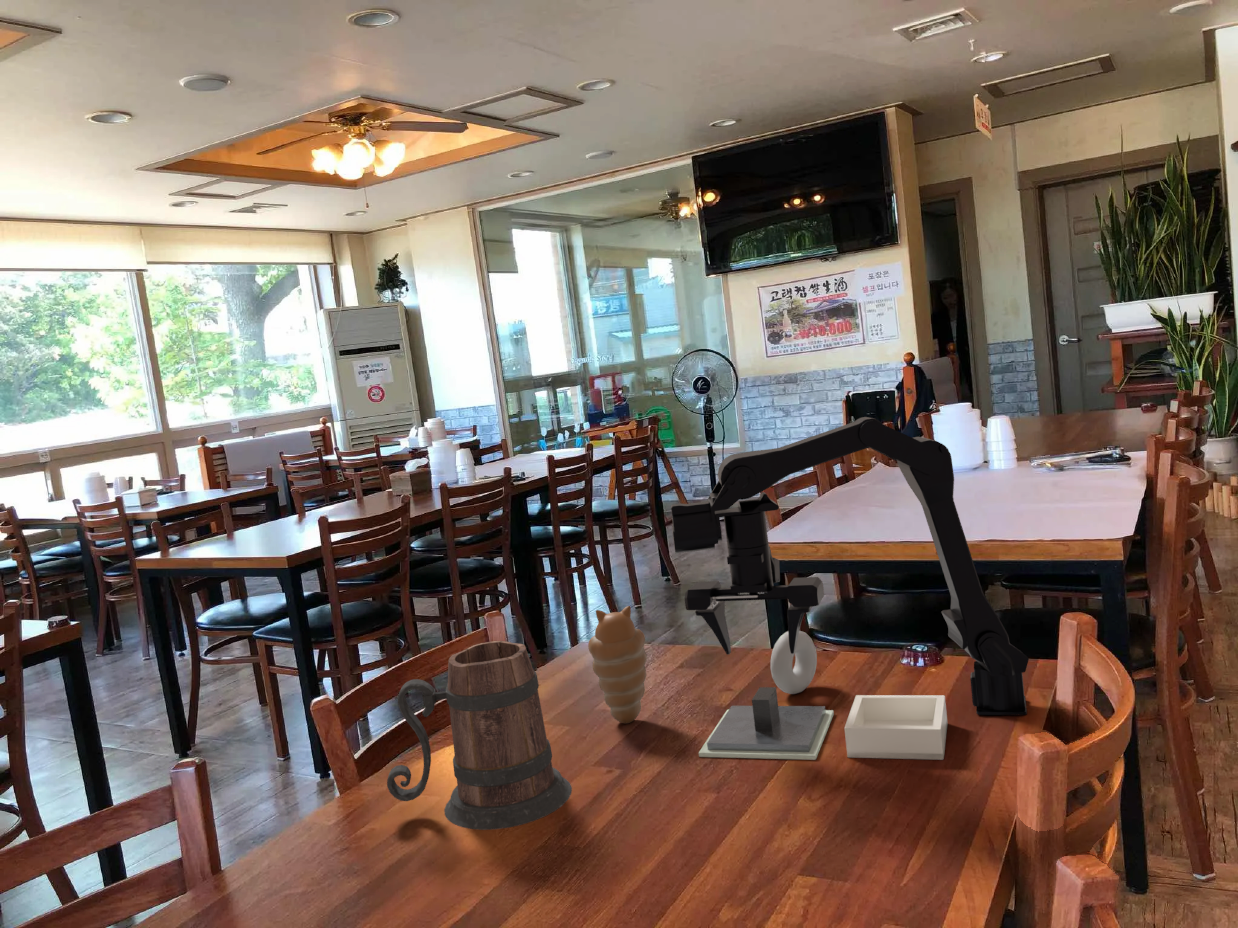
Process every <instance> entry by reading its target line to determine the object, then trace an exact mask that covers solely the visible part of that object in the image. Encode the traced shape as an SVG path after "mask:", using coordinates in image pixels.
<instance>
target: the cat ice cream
mask: <svg viewBox="0 0 1238 928" xmlns="http://www.w3.org/2000/svg"><path fill="white" fill-rule="evenodd" d="M631 609H632V607H631V605H627V606H625V607H624V608H623V609H622V610H621V611H620V612H619V611H614V612H609V613H607V612H605V611H602V610H599V609H596V610H595V615H596V618H597V621H598V622H597V626H596V628H595V631H594V632H595V633H594V636H592V637H591V638H590V639H589V641H588V646H587V647H588V651H589V653H590V655H591V657H592V658H593V662H592V671H593V673H594V674H595V675H596V677H598V687H599V688H600V690H601V691H602V692H603V697H604V698H603V699H604V702H605V704H606V705H607V706H608V707H609V708H610V714H611V716H612V718H613V719H614V720H616V721H617V722H619V723H621V724H629V723H633V722H634V721H635V720H636V719H637V718H638V716H639V715H640V712H641V711H642V710H641V709H642V704H641V700H642V699H643V697H644V695H645V691H646V688H645V682H646V677H647V668H646V662H647V657H648V656H647V652H646V649H645V644H646V636H645V633H644V632H643V631H642V630H641V629H639V628H636V627H635V624H634V622H633V620H632V618H631V614H632V612H631V611H632V610H631Z"/></svg>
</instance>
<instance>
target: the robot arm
mask: <svg viewBox="0 0 1238 928" xmlns="http://www.w3.org/2000/svg"><path fill="white" fill-rule="evenodd" d="M865 449H872V450H873V451H876V452H878V453H880V454H881V455H883V456H885V457H888V458H889V459H891V460H894V461H896V462H897V466H898V468H899V470H900V472H901V473H902V475H903V477H904V479H905V481H906V483H907V484H908V486H909V488H910V489H911V492H913V493H914V496H915V497H916V498H917V500H918V501H919V503H920V505H921V507H922V511H923V513H924V517H925V519H926V522H927V525H928V529H929V532H930V536H931V538H932V540H933V541H932V542H933V544H934V547H935V551H936V555H937V557H938V561H939V563H940V567H941V569H942V573H943V575H944V579H945V582H946V584H947V585H946V586H947V588H948V591H949V594H950V609H943V610H942V611H941V612H940V613H941V614H942V616H943V619H944V620H945V622H946V625H947V628H948V631H947V632H948V633H947V635H948V637H949V638H950V639H951V641H953V642H954V643H956V644H957V645H958V646H959V647H960V648H961V649H962V650H964V651H965V652H966V653H967V654H968V655H969V656H970V658H971V659H973V660H975V661H973V671H972V672H970V679H969V680H970V689H971V690H970V691H971V701H972V706H974V707H976V708H975V709H976V714H977V716H978V715H981V716H1026V715H1027V713H1028V712H1027V698H1026V696H1025V688H1024V677H1023V673H1025V672H1026V671H1027V667H1028V664H1029V657H1028V655H1026V654H1024V652H1022V651H1021V650H1020V649H1018V648H1017V647H1015V646H1014V645H1013V644H1011V643H1010V637H1009V634H1008V632H1007V630H1006V629H1005V626H1004V624H1003V623H1002V621H1001V619H1000V617H999V616H998V614H997V612H996V610H995V609H994V608H993V606H992V605H991V603H990V602H989V600H988V599H987V597H986V596H985V593H984V591H983V588H982V585H981V582H980V578H979V576H978V574H977V569H976V567H975V563H974V560H973V558H972V553H971V550H970V548H969V545H968V541H967V538H966V536H965V532H964V529H963V525H962V523H961V520H960V517H959V513H958V510H957V507H956V506H957V505H956V504H955V501H954V499H955V498H954V491H955V489H954V488H955V486H954V485H955V474H954V467H953V461H952V460H953V458H952V455H951V453H950V450H949V448H948V447H947V446H946V445H945V444H943V443H942V442H940V441H937V440H934V439H930V438H927V437H921V436H915V437H911V436H910V435H907V434H905V433H902V432H901V431H899V430H897V429H894V428H892V427H889V426H888V425H886V424H883V423H882V421H880V420H878V419H876V418H873V417H867V416H864V417H863V416H862V417H859V418H857V419H856V420H854V421H853V422H850V423H847V424H845V425H844V424H843V425H841V426H838V427H835V428H833V429H830V430H827V431H823V432H821V433H818V434H815V435H812V436H810V437H806V438H803V439H800V440H798V441H795V442H791V443H788V444H786V445H783V446H781V447H777V448H769V449H758V450H751V451H750V450H749V451H745V452H739V453H733V454H731V455H728V456H727V457H725V458H724V459H723V460H721V463H720V464H719V467H718V469H717V477H718V478H717V479H718V481H717V483H716V484H715V486H714V488H713V490H712V491H711V492H710V493H709V496H708V498H707V501H702V502H701V501H700V502H694V503H673V504H671V505H670V509H671V519H672V525H671V533H672V539H673V547H674V553H675V554H685V553H690V552H698V551H699V552H701V551H707V550H715V549H716V545H719V542H722V541H723V537H722V536H723V535H722V534H723V533H722V525H721V518H723V521H724V529H725V530H724V531H725V537H726V547H727V557H726V562H727V565H729V572H730V579H731V585H730V587H722V585H721V582H720V581H719V580H714V581H712V580H711V581H696V582H695V583H694V584H692V585H691V587H690V588H688V589H687V590H686V592H685V593H684V606H685V610H686V611H695V612H694V613H695V616H698V617H702V618H703V620H704V622H706V624H707V626H709V628H710V629H711V630H712V632H713V634H714V635H715V637H716V638H717V641H718V642H719V644H720V645H721V647H722V649H723V651H724V652H725V654H726V655H730V654H731V653H732V648H731V646H732V645H731V639H730V634H729V630H728V629H729V628H728V624H727V618H726V614H725V613H726V610H725V609H726V602H738V601H768V600H771V601H773V600H787V601H788V603H789V604H790V606H788V608H787V611H786V613H787V626H788V627H787V629H788V630H787V631H788V634H789V647H790V652H791V654H794V652H795V649H796V644H797V639H798V635H799V631H801V625H802V621H803V618H804V615H805V614H806V613H809V612H810V611H811V610H812V608H814V607H817V606H819V605H820V603H821V601H823V599H824V597H825V589H824V583H823V581H822V580H821V578H819V576H810V577H809V576H808V577H806V576H805V577H793V579H792V580H791V581H790V583H788V584H787V585H786V584H784V585H782V584H781V585H774V584H776V583H780V581H781V573H780V571H781V570H780V559H778V558H776V557H773V555H772V550H771V547H770V544H769V537H768V528H767V519H766V512H772V511H777V510H779V509H780V506H779V504H777V502H776V501H774V500H773V499H771V498H770V497H769V496H768V494H767V493H766V492H764V491H766V490H768V489H769V488H771V487H773V486H774V485H775V484H777V483H778V482H779V481H781V480H783V479H784V478H786V477H788V476H790V475H793V474H795V473H798V472H801V471H804V470H807V469H810V468H814V467H817V466H819V465H822V464H825V463H828V462H830V461H833V460H837V459H839V458H842V457H846V456H848V455H851V454H854V453H857V452H860V451H863V450H865ZM760 493H761V494H760ZM758 494H760V495H759V497H757V498H755V499H752V498H753V497H754V496H757V495H758ZM735 503H737V506H736V507H732V506H733V505H735Z"/></svg>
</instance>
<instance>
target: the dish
mask: <svg viewBox="0 0 1238 928" xmlns="http://www.w3.org/2000/svg"><path fill="white" fill-rule="evenodd" d="M946 703H947V702H946V695H942V694H941V695H940V694H939V695H937V694H936V695H935V694H933V695H928V694H927V695H926V694H925V695H923V694H918V695H915V694H913V695H912V694H908V695H906V694H905V695H903V694H900V695H898V694H897V695H896V694H894V695H893V694H892V695H890V694H888V695H886V694H885V695H883V694H882V695H880V694H877V695H875V694H874V695H873V694H869V695H867V694H856V695H855V697H854V700H853V703H852V704H851V708H850V711H849V714H848V717H847V719H846V723H845V725H844V736H845V747H846V748H845V749H846V756H847V758H851V759H852V758H853V759H854V758H857V759H892V760H893V759H896V760H897V759H898V760H899V759H901V760H902V759H903V760H934V761H935V760H936V761H937V760H939V761H943V760H944V758H945V750H946V740H947V730H948V725H949V724H948V715H947V714H948V713H947V705H946Z"/></svg>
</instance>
